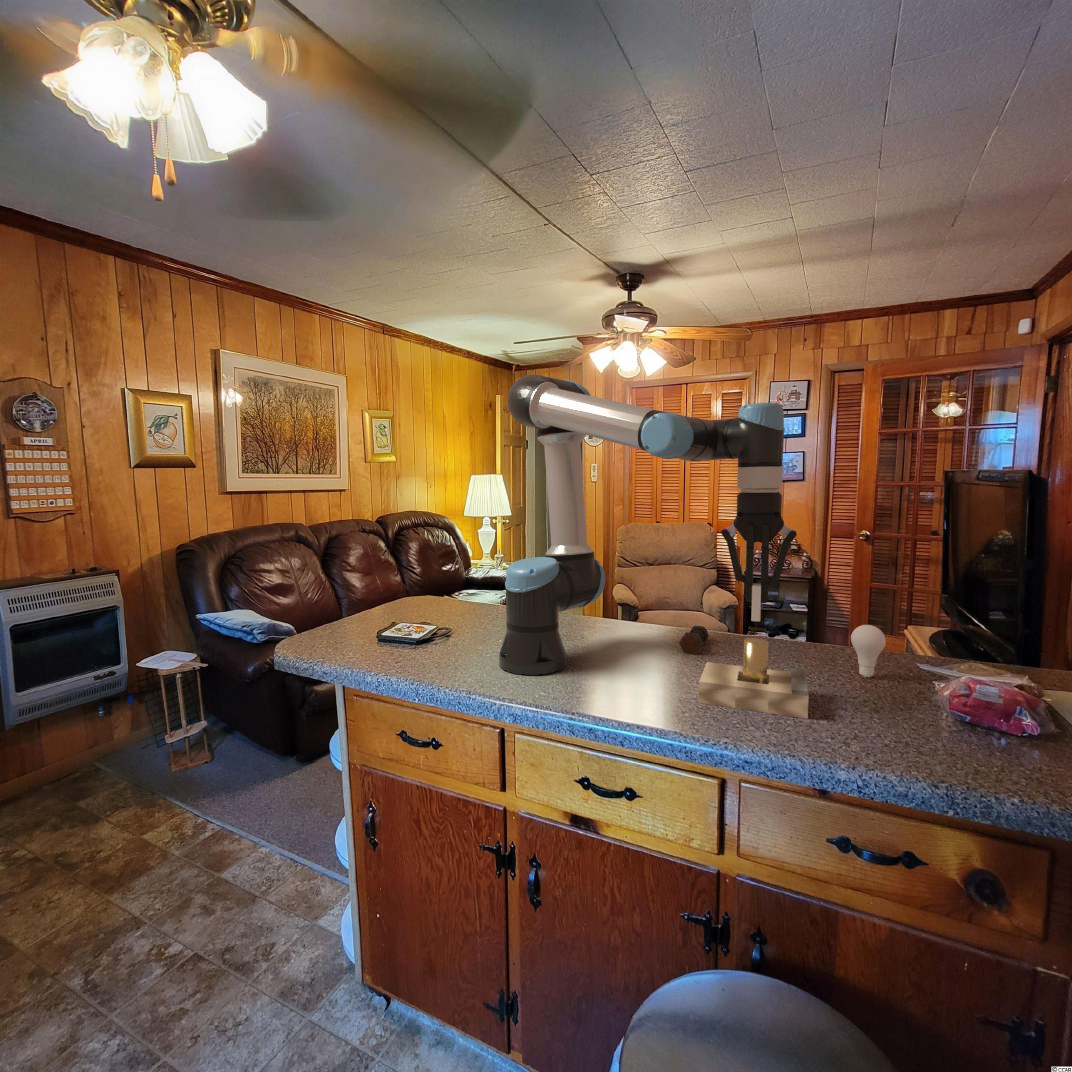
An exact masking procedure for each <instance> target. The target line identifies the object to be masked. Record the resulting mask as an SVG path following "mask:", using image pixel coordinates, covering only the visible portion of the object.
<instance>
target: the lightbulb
mask: <svg viewBox="0 0 1072 1072" xmlns="http://www.w3.org/2000/svg"><path fill="white" fill-rule="evenodd" d="M850 641H851V644H852V646H853V649H854V650H855V652H856V656H857V663H858V665H859V666H858V669H859V670H858V672H859V674H860V675H861V676H862V677H863V676H864V677H863V678H866V677H869V678H870V677H873V676H874V674H875V667H876V666H877V661H878V658H879V655H880V654H881V652H883V650H884V648H885V646H886V643H887V642H886V636H885V634H884V632H883V631H882V630H881V629H880V628H878V627H877V626H874V625H871V624H862V625H859V626H857V627H855V628H854V630H853V631H852V633H851V635H850Z"/></svg>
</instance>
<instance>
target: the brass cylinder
mask: <svg viewBox="0 0 1072 1072" xmlns="http://www.w3.org/2000/svg"><path fill="white" fill-rule="evenodd" d="M768 661H769V641H768V640H766V639H763V638H758V637H746V638H744V639H743V659H742V666H743V676H742V681H745V682H753V683H761V684H766V683H767V669H768V664H769V663H768Z"/></svg>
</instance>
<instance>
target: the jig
mask: <svg viewBox="0 0 1072 1072" xmlns="http://www.w3.org/2000/svg"><path fill="white" fill-rule="evenodd" d="M805 671H806V670H805V669H802V668H795V667H794V668H793V667H790V671H783V670H777V669H768V668H767V683H766V684H761V683H753V682H745V681H742V676H743V665H734V664H726V663H718V662H717V663H716V662H710V661H707V662H706V664H705V666H704V669H703V671H702V674H701V676H700V678H699V682H698V704H704V705H712V706H719V707H726V708H733V709H737V710H739V709H740V710H745V711H751V712H759V713H765V714H773V715H777V716H778V715H779V716H785V717H792V718H799V719H805V720H806V719H807V720H808V718H809V691H808V681H807V674H806V672H805Z"/></svg>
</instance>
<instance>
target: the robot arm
mask: <svg viewBox="0 0 1072 1072" xmlns="http://www.w3.org/2000/svg"><path fill="white" fill-rule="evenodd" d="M507 406H508V411H509V413H510V415H511V416H512V417H513V419H514V420H515V421H516V422H517V423H519V424H521V425H522V426H525V427H528V428H533V429H536V436H537V438H536V439H537V441H538V442H540V443H541V444H542V445H543V447H544V459H545V460H544V461H545V474H546V486H547V487H546V489H547V490H546V491H547V502H548V516H549V531H550V544H551V545H550V548H548V550H547V551H546V552H545V556H535V557H530V558H529V557H528V558H524V559H522V558H521V559H520V560H516V561H514V562H512V563H511V564H509V565H508V567H507V568H506V570H505V573H506V574H505V582H504V585H505V612H506V614H505V617H506V619H505V621H506V628H505V629H506V631H505V634H504V638H503V641H502V644H501V647H500V650H499V653H498V665H499V668H501V669H502V670H503V671H505V670H506V672H508V673H511V672H512V673H511V674H514V675H515V674H516V675H522V674H525V675H526V676H540V675H539V674H542V675H547V674H548V673H549V674H553V673H556V671H557V672H559V671H561V670H563V669H564V668H566V666H567V651H566V648H565V646H564V643H563V639H562V636H561V633H560V631H559V629H560V628H559V613H562V612H565V611H569V610H572V609H575V608H579V609H580V608H584V607H586V606H588V605H589V604H592V603H594V602H596V601H597V600H598V599H599V597H601V595H602V594H603V591H604V589H605V585H606V574H605V570H604V567H603V566H602V565H601V564H600V561H598V560H597V559H596V558H595V550H594V549H593V548H592V547H591V546H590V545H589V544H588V537H587V525H586V524H587V523H586V522H587V521H586V508H585V506H586V505H585V493H584V479H583V463H582V462H583V460H582V448H581V444H582V442H583V440H585V438H586V436H589V437H592V438H596V439H600V440H603V441H606V442H610V443H614V444H618V445H623V446H625V447H630V448H633V449H637V450H640V451H644V452H647V453H648V454H650V455H651V456H653V457H657V458H659V459H665V460H672V459H673V460H674V459H679V460H681V461H684V462H687V461H688V462H702V461H703V462H704V461H715V460H716V461H721V460H737V485H736V486H737V489H738V490H740V492H738V493H737V494H736V516H735V519H733V524H732V525H730V526H728V527H726V528H723V529H722V530H721V532H720V533H721V535H722V537H723V539H724V540H725V541H726V545H727V550H728V553H729V557H730V561H731V566H732V570H733V575H734V579H735V580H736V581H737V582H738V581H739V582H741V583H743V584H744V586H745V593H744V595H745V597H744V598H745V602H746V603H751V618H750V620H751V622H761V611H762V610H761V609H762V604H767V602H768V599H769V586H770V585H771V584H776V583H778V582H779V581H780V578H781V574H782V572H783V568H784V565H785V562H786V558H787V555H788V551H789V549H790V546H791V543H793V541H794V539H796V537H797V535H798V533H797V531H796V530H795V529H791V528H790V527H789V526H787V525H785V521H784V519H783V518H782V509H783V508H782V507H783V505H782V503H783V494H782V493H781V492H780V491H779V490H782V488H783V471H784V468H783V466H784V465H783V464H784V461H783V459H784V458H783V457H784V441H785V438H784V437H785V431H786V429H785V419H784V417H785V415H784V414H785V413H784V407H783V406H782V405H781V404H779V403H775V402H755V403H749V404H744V405H741V406H740V408H739V410H738V414H737V417H733V418H732V417H731V418H724V419H704V418H698V417H691V416H687V415H682V414H678V413H673V412H667V411H663V410H656V409H653V408H648V407H644V406H639V405H635V404H629V403H625V402H621V401H615V400H612V399H607V398H602V397H598V396H592V395H591V393H590V392H589V390H588V389H587V388H585V386H583V385H582V384H580V383H576V382H575V381H572V380H568V379H561V378H556V377H552V376H551V377H549V376H546V375H545V376H544V375H541V374H527V375H525V376H522V377H520V378H518V379H517V380H516V381H515V382H514V383H513V384H512V385H511V387H510V389H509V391H508V396H507ZM736 531H737V532H738V534H739V535H740V537H742V539H743V540H744V541H745V542H746V544H745V548H746V552H745V554H746V555H745V574H743V569H742V566H741V562H740V558H739V553H738V549H737V544H736V540H735V537H736ZM780 532H781V538H782V542H781V545H780V549H779V551H778V552H779V553H778V556H777V558H776V562H775V566H774V569H773V572H772V575H769V572H770V571H769V566H770V564H769V563H770V542H771V543H772V541H773V540H774V539H775V538H776V537H777V535H778V534H779V533H780ZM755 543H761V554H760V555H761V558H760V560H761V561H760V562H761V563H760V583H754V567H755V566H754V565H755V564H754V563H755V562H754V558H755Z"/></svg>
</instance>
